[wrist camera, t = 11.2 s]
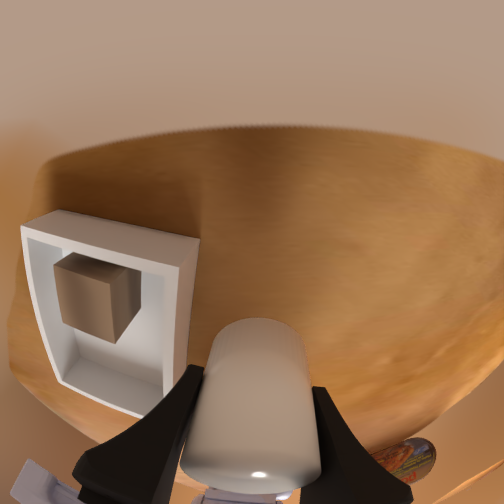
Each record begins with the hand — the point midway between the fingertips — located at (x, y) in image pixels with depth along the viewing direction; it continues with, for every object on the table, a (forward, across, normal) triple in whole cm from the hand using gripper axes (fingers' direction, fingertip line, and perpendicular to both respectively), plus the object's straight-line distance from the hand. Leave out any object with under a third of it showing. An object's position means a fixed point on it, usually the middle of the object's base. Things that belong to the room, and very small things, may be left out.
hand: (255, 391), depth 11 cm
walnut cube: (+9, +12, +1) cm, 15 cm away
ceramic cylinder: (+2, 0, 0) cm, 2 cm away
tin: (+10, -27, +26) cm, 39 cm away
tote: (+10, +12, +6) cm, 16 cm away
